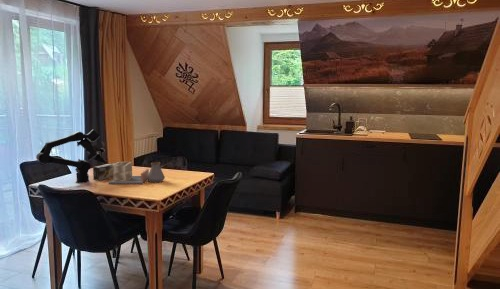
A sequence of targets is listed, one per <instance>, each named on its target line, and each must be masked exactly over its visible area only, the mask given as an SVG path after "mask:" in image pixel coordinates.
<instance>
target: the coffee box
mask: <svg viewBox="0 0 500 289" xmlns="http://www.w3.org/2000/svg"><path fill="white" fill-rule="evenodd" d="M114 164H116V163H108V164H102V165H97V166H92V171H93V172H92V173H93V175H92V176H93V180H96V181H102V180H105V179H106V180H107V179H111V178H112V179H113V165H114Z"/></svg>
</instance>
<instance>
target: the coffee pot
mask: <svg viewBox="0 0 500 289" xmlns="http://www.w3.org/2000/svg"><path fill="white" fill-rule="evenodd" d="M150 165H151V168H150V169H149V175H148V177H147V179H148V180H147V181H148V182H150V183H152V184H158V183H159V184H160V183H162V182H163V181H164V180H165V178H166V177H165V174H164V172H163V171H162V168H163V167H166V166H169V165H172V162H171V161H170V162H168V163H164V164H162V165H161V162H160V161H159V162H158V161H157V162H156V161H154V162H151V163H150ZM160 165H161V166H160Z"/></svg>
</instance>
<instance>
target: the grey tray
mask: <svg viewBox="0 0 500 289" xmlns="http://www.w3.org/2000/svg"><path fill="white" fill-rule="evenodd" d="M149 172H150V169H149V168H146V169H145V170H143V171H142V172H141V173H140V175H132V178H131V179H130V180H128V181H113V179H112V180H109V181H108V185H144V184H145V183H146V182H147V181H149V180H148V179H147V177H148V175H149Z"/></svg>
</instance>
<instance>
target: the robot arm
mask: <svg viewBox="0 0 500 289" xmlns="http://www.w3.org/2000/svg"><path fill="white" fill-rule="evenodd" d="M100 137H101V135H100V133H98V131H96V130H95V129H91V130H90V131H89V132H88V133H83V132H82V131H78V130H76V131H73V132H71V133H70V134H69V135H67V136H64V137H61V138H58V139H54V140H51V141H46V142H45V144H44V146H43V147H42V149H41V150H40V152H39V153H37V154H36V158H35V159H36V160H37V162H39V163H42V164H57V165H58V164H59V165H62V166H63V165H64V166H67V167H68V166H69V167H73V168H75V172H76V181H75V183H80V184H81V183H87V182H89V181H90V178H89V177H90V175H89V171H90V169H91V166H92V165H91V163H90V162H88V161H91V160H92V158H93V160H94V161H98V162H99V163H103V164H106V163H107V160H106V159H105V157H104V153H105V151H106V149H105V147H106V145H105V142H104V141H99V142H98V143H97V144H95V143H94V142H96V141H97V140H98V139H99V138H100ZM72 142H76V147H80V146H81V147H82V148H83V149H84V150H85V152H86V153H88V155H87V156H86V159H87V160H85V159H80V158H78V160H72V159H66V158H62V157H55V156H54V155H53V156H52V155H51V152H52V150H53V149H54V148H56V147H59V146H61V145H65V144H68V143H72ZM92 142H93V143H92Z"/></svg>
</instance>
